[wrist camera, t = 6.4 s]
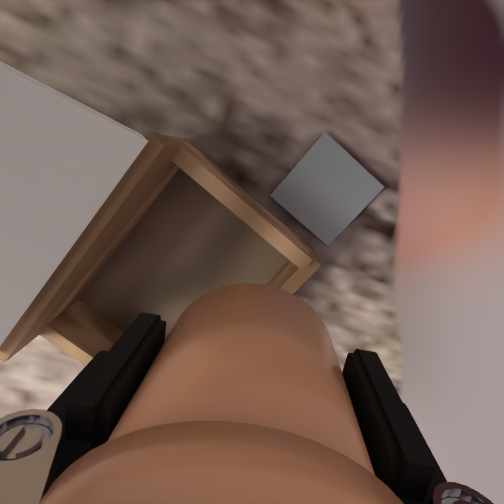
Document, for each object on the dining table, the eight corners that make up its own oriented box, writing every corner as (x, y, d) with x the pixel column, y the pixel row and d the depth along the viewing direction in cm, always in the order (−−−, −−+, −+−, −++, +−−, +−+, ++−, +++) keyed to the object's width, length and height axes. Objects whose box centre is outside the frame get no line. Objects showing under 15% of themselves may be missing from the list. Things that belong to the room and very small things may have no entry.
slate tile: (270, 195, 27) (270, 195, 26) (324, 132, 25) (325, 131, 25) (326, 244, 28) (328, 246, 27) (381, 186, 26) (384, 187, 26)
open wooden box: (-8, 245, 29) (-783, 505, 7) (105, 70, 25) (-845, -427, 4) (185, 384, 32) (27, 850, 10) (313, 249, 28) (471, 555, 7)
